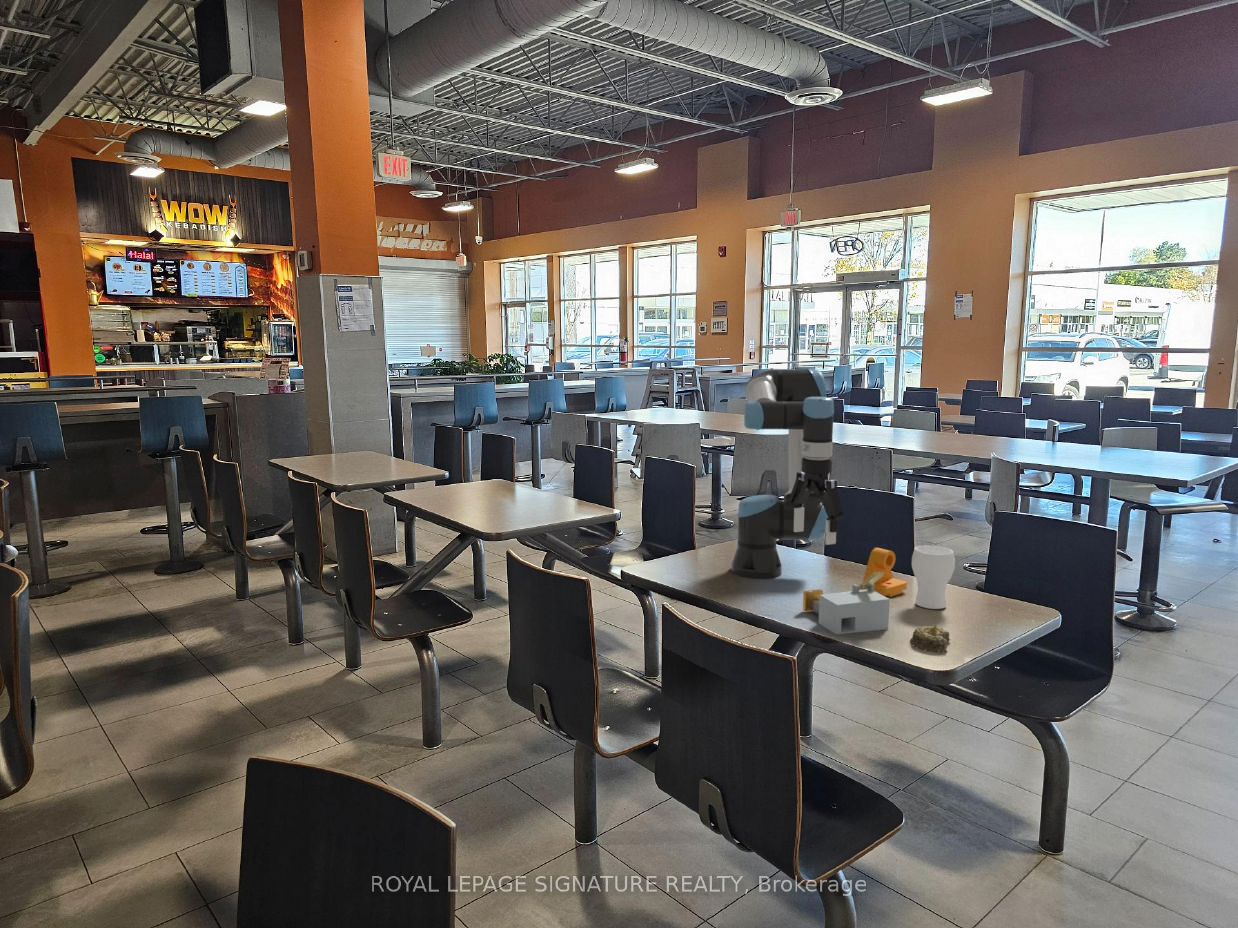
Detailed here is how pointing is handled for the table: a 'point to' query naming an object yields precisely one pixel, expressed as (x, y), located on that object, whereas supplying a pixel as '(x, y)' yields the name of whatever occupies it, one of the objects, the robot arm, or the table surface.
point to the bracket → (884, 563)
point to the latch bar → (870, 580)
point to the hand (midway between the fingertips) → (814, 537)
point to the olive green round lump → (930, 639)
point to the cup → (932, 574)
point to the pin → (811, 600)
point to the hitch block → (854, 611)
